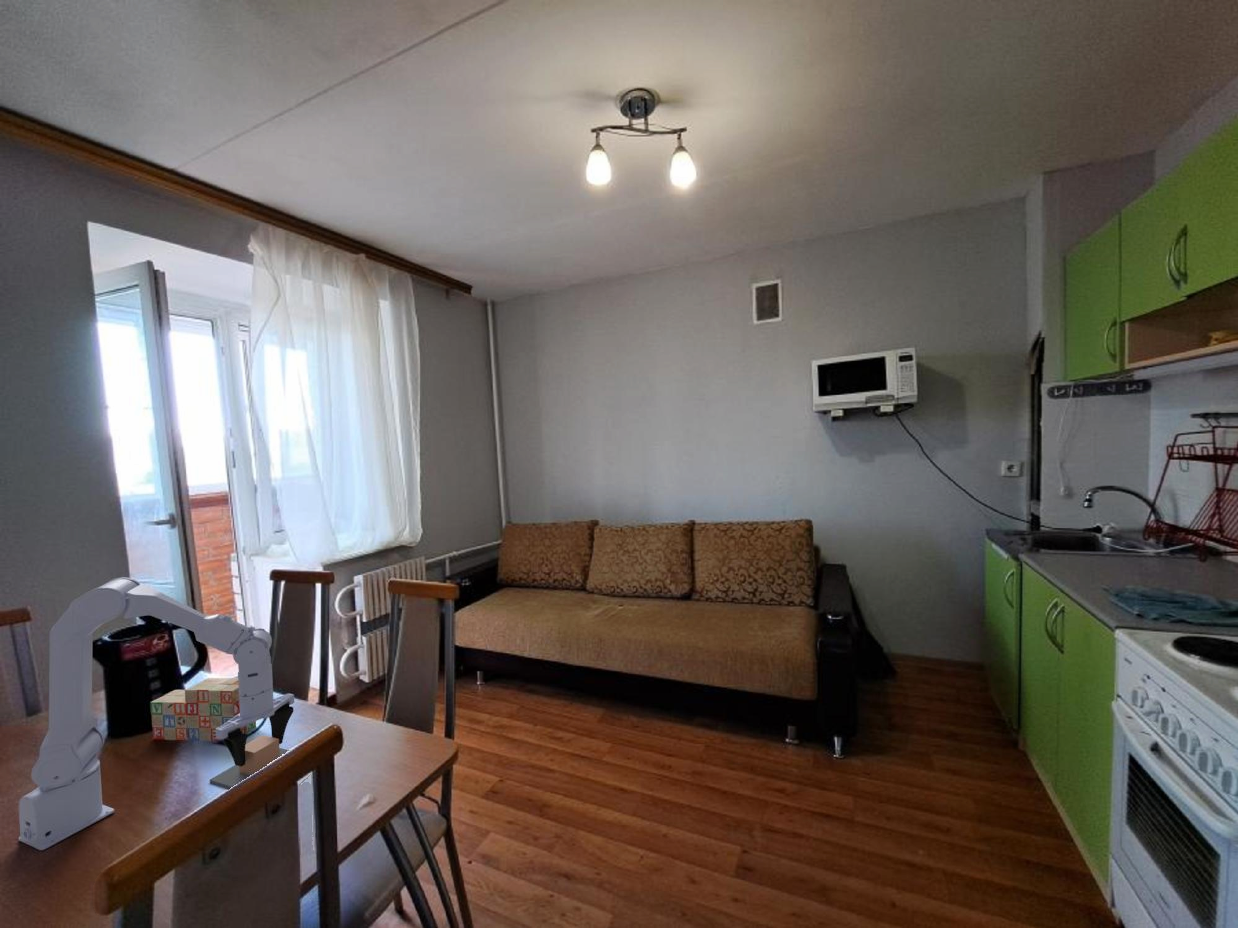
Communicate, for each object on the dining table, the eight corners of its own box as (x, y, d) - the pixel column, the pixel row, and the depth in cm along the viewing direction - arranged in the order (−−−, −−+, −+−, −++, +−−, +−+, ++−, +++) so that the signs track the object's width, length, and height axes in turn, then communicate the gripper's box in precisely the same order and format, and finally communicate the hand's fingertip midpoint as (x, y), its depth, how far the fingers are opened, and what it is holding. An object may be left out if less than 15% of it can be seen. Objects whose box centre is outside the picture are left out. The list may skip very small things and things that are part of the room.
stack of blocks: (151, 740, 114) (148, 689, 114) (178, 725, 121) (175, 677, 120) (235, 741, 113) (232, 690, 112) (257, 726, 119) (254, 677, 119)
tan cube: (255, 776, 99) (254, 752, 99) (239, 771, 100) (237, 748, 100) (280, 761, 103) (278, 738, 103) (264, 757, 105) (262, 734, 105)
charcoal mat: (249, 794, 94) (249, 791, 94) (209, 782, 98) (209, 779, 98) (307, 757, 105) (307, 754, 105) (269, 747, 110) (269, 745, 110)
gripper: (230, 710, 93) (234, 779, 94) (302, 676, 107) (305, 736, 107) (207, 705, 96) (211, 772, 96) (280, 672, 109) (283, 731, 110)
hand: (259, 753), depth 102 cm, fingers open, 7 cm apart
